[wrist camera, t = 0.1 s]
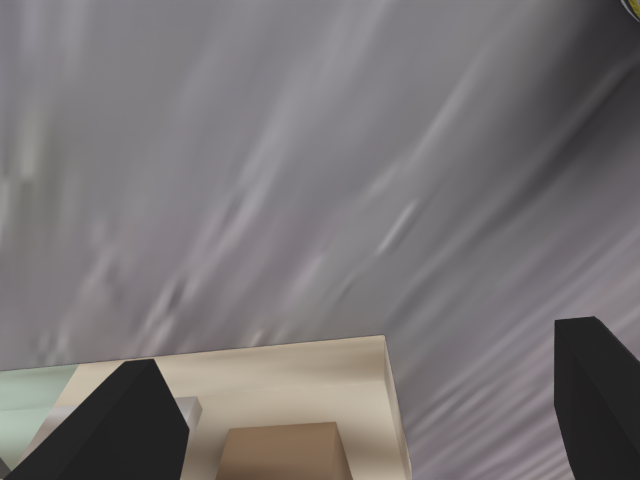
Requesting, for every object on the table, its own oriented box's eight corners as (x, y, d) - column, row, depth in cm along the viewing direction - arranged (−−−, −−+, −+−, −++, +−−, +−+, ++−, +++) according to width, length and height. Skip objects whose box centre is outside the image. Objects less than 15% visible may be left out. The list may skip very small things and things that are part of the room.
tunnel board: (410, 465, 27) (416, 584, 23) (-21, 486, 32) (-89, 589, 27) (384, 334, 23) (384, 450, 18) (-113, 382, 27) (-213, 483, 23)
